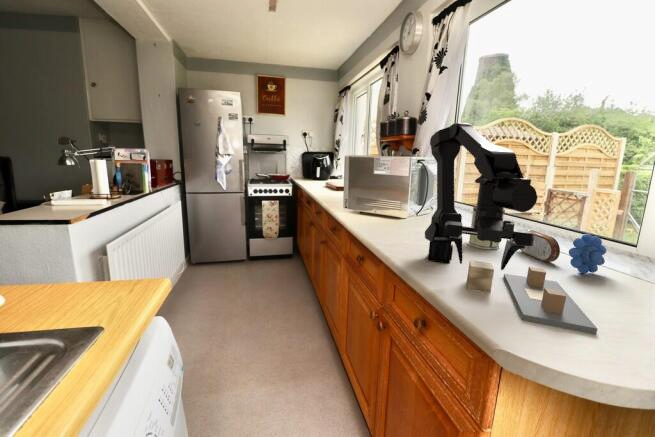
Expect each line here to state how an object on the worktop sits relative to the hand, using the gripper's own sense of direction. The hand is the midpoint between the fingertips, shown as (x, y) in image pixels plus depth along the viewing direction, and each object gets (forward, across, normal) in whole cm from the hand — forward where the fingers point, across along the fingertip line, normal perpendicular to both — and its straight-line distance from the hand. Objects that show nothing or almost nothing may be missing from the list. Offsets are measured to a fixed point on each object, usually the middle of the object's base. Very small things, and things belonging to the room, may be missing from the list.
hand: (480, 266), depth 76 cm
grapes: (+6, +30, +24) cm, 39 cm away
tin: (+6, +20, +36) cm, 41 cm away
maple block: (+6, 0, 0) cm, 6 cm away
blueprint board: (+5, +13, -2) cm, 14 cm away
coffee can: (+6, +5, +43) cm, 44 cm away
